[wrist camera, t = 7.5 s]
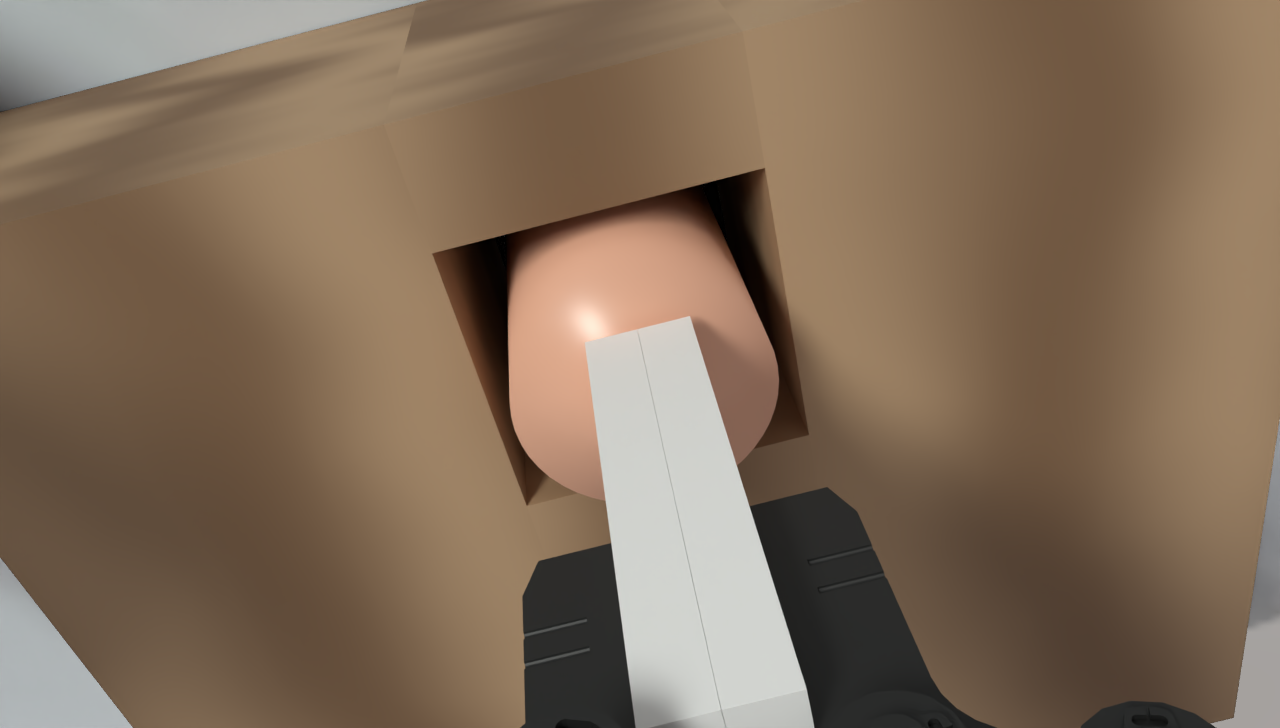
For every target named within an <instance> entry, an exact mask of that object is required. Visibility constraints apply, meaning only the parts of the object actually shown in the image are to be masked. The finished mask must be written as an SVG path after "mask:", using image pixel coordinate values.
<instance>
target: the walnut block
mask: <svg viewBox="0 0 1280 728" xmlns="http://www.w3.org/2000/svg"><path fill="white" fill-rule="evenodd" d="M712 181H716V183H717V188H718V194H719V199H720V204H721V209H722V214H723V219H724V224H725V230H726V235H727V240H728V245H729V250H730V252H731V254H732V256H733V259H734V261H735V263H736V266H737V268H738V270H739V272H740V275H741V277H742V279H743V281H744V284H745V286H746V288H747V291H748V293H749V295H750V297H751V300H752V302H753V304H754V306H755V309H756V311H757V313H758V316H759V318H760V320H761V322H762V325H763V327H764V329H765V332H766V334H767V336H768V338H769V341H770V343H771V345H772V347H773V350H774V353H775V357H776V361H777V364H778V374H779V388H778V397H777V402H776V406H775V410H774V413H773V415H772V418H771V421H770V423H769V425H768V427H767V429H766V431H765V433H764V434H763V436H762V438H761V439H760V440H759V442H758V443H757V445H756V446H755V447H754V449H753V450H752V451H751V452H750V453H749V454H748V455H747V456H746V458H745V459H744V460H743V461H742V462H740V463H739V464H738V465H737V468H738V471H739V475H740V478H741V481H742V484H743V487H744V491H745V494H746V497H747V500H748V503H749V506H752V505H756V504H760V503H764V502H768V501H772V500H776V499H780V498H784V497H788V496H792V495H797V494H801V493H805V492H809V491H813V490H817V489H821V488H825V487H828V488H829V489H830V490H832V491H833V492H834V493H835V494H837V495H838V496H839V497H840V498H841V499H843V500H844V501H845V502H846V503H848V504H849V505H850V506H851V507H853V508H854V509H855V510H856V511H857V512H858V514H859V517H860V519H861V521H862V523H863V526H864V528H865V530H866V532H867V535H868V537H869V539H870V541H871V544H872V548H873V550H875V553H876V555H877V557H878V559H879V562H880V564H881V566H882V568H883V570H884V574H885V577H886V578H887V579H888V582H889V584H890V586H891V588H892V591H893V593H894V595H895V597H896V600H897V602H898V604H899V606H900V609H901V611H902V613H903V615H904V618H905V620H906V622H907V624H908V626H909V629H910V631H911V633H912V635H913V638H914V640H915V642H916V644H917V647H918V649H919V651H920V653H921V656H922V658H923V660H924V662H925V665H926V667H927V669H928V671H929V674H930V676H931V678H932V679H933V681H934V683H935V684H936V686H937V687H938V689H939V691H940V692H941V694H942V695H943V696H944V697H946V698H947V699H948V700H949V701H950V702H951V703H952V704H953V705H954V706H955V707H956V708H957V709H959V710H960V711H962V712H964V713H965V714H967V715H969V716H970V717H972V718H974V719H975V720H977V721H980V722H983V723H986V724H988V725H991V726H994V727H997V728H1081V725H1082V724H1084V723H1085V722H1086V721H1087V720H1089V719H1090V718H1091V717H1092V716H1093V715H1095V714H1096V713H1097V712H1098V711H1100V710H1101V709H1102V708H1106V707H1110V706H1113V705H1117V704H1120V703H1124V702H1127V701H1145V702H1163V703H1166V704H1169V705H1172V706H1175V707H1178V708H1180V709H1183V710H1186V711H1189V712H1192V713H1195V714H1197V715H1198V716H1200V717H1201V718H1202V719H1204V720H1205V721H1207V722H1208V723H1214V722H1218V721H1222V720H1226V719H1230V718H1233V717H1234V712H1235V705H1236V699H1237V692H1238V686H1239V679H1240V672H1241V666H1242V660H1243V653H1244V647H1245V640H1246V634H1247V627H1248V621H1249V614H1250V608H1251V601H1252V595H1253V588H1254V582H1255V575H1256V569H1257V562H1258V556H1259V549H1260V543H1261V536H1262V530H1263V523H1264V517H1265V510H1266V504H1267V497H1268V491H1269V484H1270V478H1271V471H1272V465H1273V458H1274V452H1275V445H1276V438H1277V432H1278V425H1279V419H1280V0H427V1H423V2H419V3H416V4H412V5H408V6H404V7H400V8H397V9H393V10H389V11H385V12H381V13H377V14H374V15H370V16H366V17H362V18H358V19H355V20H351V21H347V22H343V23H339V24H335V25H332V26H328V27H324V28H320V29H316V30H313V31H309V32H305V33H301V34H297V35H293V36H290V37H286V38H282V39H278V40H274V41H270V42H267V43H263V44H259V45H255V46H251V47H248V48H244V49H240V50H236V51H232V52H228V53H225V54H221V55H217V56H213V57H209V58H206V59H202V60H198V61H194V62H190V63H186V64H183V65H179V66H175V67H171V68H167V69H164V70H160V71H156V72H152V73H148V74H144V75H141V76H137V77H133V78H129V79H125V80H122V81H118V82H114V83H110V84H106V85H102V86H99V87H95V88H91V89H87V90H83V91H80V92H76V93H72V94H68V95H64V96H60V97H57V98H53V99H49V100H45V101H41V102H38V103H34V104H30V105H26V106H22V107H18V108H15V109H11V110H7V111H3V112H0V558H1V559H2V560H3V561H4V563H5V564H6V565H7V567H8V568H9V569H10V570H11V572H12V573H13V574H14V576H15V577H16V578H17V579H18V581H19V582H20V583H21V585H22V586H23V587H24V588H25V590H26V591H27V592H28V594H29V595H30V596H31V597H32V599H33V600H34V601H35V603H36V604H37V605H38V606H39V608H40V609H41V610H42V611H43V613H44V614H45V615H46V617H47V618H48V619H49V620H50V622H51V623H52V624H53V626H54V627H55V628H56V629H57V631H58V632H59V633H60V635H61V636H62V637H63V638H64V640H65V641H66V642H67V644H68V645H69V646H70V647H71V649H72V650H73V651H74V653H75V654H76V655H77V656H78V658H79V659H80V660H81V662H82V663H83V664H84V665H85V667H86V668H87V669H88V670H89V672H90V673H91V674H92V676H93V677H94V678H95V679H96V681H97V682H98V683H99V685H100V686H101V687H102V688H103V690H104V691H105V692H106V694H107V695H108V696H109V697H110V699H111V700H112V701H113V703H114V704H115V705H116V706H117V708H118V709H119V710H120V712H121V713H122V714H123V715H124V717H125V718H126V719H127V720H128V722H129V723H130V724H131V726H132V727H133V728H520V727H521V726H523V725H524V724H525V690H524V669H525V664H524V647H523V639H524V633H523V604H522V596H523V594H524V592H525V589H526V587H527V585H528V583H529V581H530V578H531V576H532V574H533V572H534V570H535V567H536V565H537V563H538V561H540V560H544V559H548V558H552V557H557V556H561V555H565V554H569V553H573V552H577V551H581V550H585V549H589V548H593V547H597V546H601V545H605V544H609V543H611V537H610V530H609V522H608V515H607V507H606V501H604V500H599V499H595V498H591V497H588V496H585V495H582V494H579V493H577V492H575V491H573V490H571V489H568V488H566V487H564V486H563V485H561V484H559V483H558V482H556V481H555V480H553V479H552V478H550V477H549V476H548V475H547V474H546V473H544V472H543V471H542V470H541V469H540V468H539V467H538V466H537V465H536V464H535V463H534V462H533V461H532V459H531V458H530V457H529V456H528V454H527V453H526V451H525V450H524V448H523V447H522V445H521V443H520V441H519V439H518V437H517V434H516V432H515V429H514V425H513V422H512V418H511V411H510V398H509V352H508V306H507V272H506V269H505V266H504V263H503V260H502V257H501V254H500V251H499V248H498V245H497V242H496V239H495V237H498V236H502V235H506V234H510V233H514V232H517V231H521V230H525V229H529V228H533V227H537V226H541V225H545V224H549V223H552V222H556V221H560V220H564V219H568V218H572V217H576V216H580V215H584V214H587V213H591V212H595V211H599V210H603V209H607V208H611V207H615V206H619V205H622V204H626V203H630V202H634V201H638V200H642V199H646V198H650V197H654V196H657V195H661V194H665V193H669V192H673V191H677V190H681V189H685V188H689V187H692V186H696V185H700V184H704V183H708V182H712Z"/></svg>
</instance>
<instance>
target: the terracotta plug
mask: <svg viewBox="0 0 1280 728" xmlns="http://www.w3.org/2000/svg"><path fill="white" fill-rule="evenodd" d="M506 260H507V306H508V352H509V398H510V411H511V418H512V422H513V425H514V429H515V432H516V434H517V437H518V439H519V441H520V443H521V445H522V447H523V448H524V450H525V451H526V453H527V454H528V456H529V457H530V458H531V459H532V461H533V462H534V463H535V464H536V465H537V466H538V467H539V468H540V469H541V470H542V471H543V472H544V473H546V474H547V475H548V476H549V477H550V478H552V479H553V480H555V481H556V482H558V483H559V484H561V485H563V486H564V487H566V488H568V489H571V490H573V491H575V492H577V493H579V494H582V495H585V496H588V497H591V498H595V499H599V500H604V501H606V499H605V492H604V484H603V477H602V469H601V462H600V454H599V447H598V439H597V431H596V424H595V416H594V409H593V401H592V394H591V386H590V379H589V371H588V363H587V356H586V348H585V342H588V341H592V340H596V339H600V338H604V337H608V336H612V335H616V334H620V333H624V332H628V331H632V330H636V329H640V328H644V327H648V326H652V325H656V324H660V323H664V322H668V321H672V320H676V319H680V318H684V317H688V316H690V318H691V321H692V324H693V328H694V331H695V334H696V337H697V340H698V344H699V347H700V350H701V353H702V356H703V360H704V363H705V366H706V369H707V372H708V376H709V379H710V382H711V385H712V388H713V392H714V395H715V398H716V401H717V404H718V408H719V411H720V414H721V417H722V420H723V423H724V427H725V430H726V433H727V436H728V439H729V443H730V446H731V449H732V452H733V455H734V459H735V462H736V465H738V464H739V463H740V462H742V461H743V460H744V459H745V458H746V456H747V455H748V454H749V453H750V452H751V451H752V450H753V449H754V447H755V446H756V445H757V443H758V442H759V440H760V439H761V438H762V436H763V434H764V433H765V431H766V429H767V427H768V425H769V423H770V421H771V418H772V415H773V413H774V410H775V406H776V402H777V397H778V388H779V374H778V364H777V361H776V357H775V353H774V350H773V347H772V345H771V343H770V341H769V338H768V336H767V334H766V332H765V329H764V327H763V325H762V322H761V320H760V318H759V316H758V313H757V311H756V309H755V306H754V304H753V302H752V300H751V297H750V295H749V293H748V291H747V288H746V286H745V284H744V281H743V279H742V277H741V275H740V272H739V270H738V268H737V266H736V263H735V261H734V259H733V256H732V254H731V252H730V250H729V247H728V245H727V243H726V241H725V238H724V236H723V234H722V231H721V229H720V227H719V225H718V222H717V220H716V218H715V216H714V213H713V211H712V209H711V206H710V204H709V202H708V200H707V197H706V195H705V193H704V190H703V188H702V186H701V184H700V185H696V186H692V187H689V188H685V189H681V190H677V191H673V192H669V193H665V194H661V195H657V196H654V197H650V198H646V199H642V200H638V201H634V202H630V203H626V204H622V205H619V206H615V207H611V208H607V209H603V210H599V211H595V212H591V213H587V214H584V215H580V216H576V217H572V218H568V219H564V220H560V221H556V222H552V223H549V224H545V225H541V226H537V227H533V228H529V229H525V230H521V231H517V232H514V233H510V234H506ZM637 331H638V330H637ZM638 335H639V334H638Z"/></svg>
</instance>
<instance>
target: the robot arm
mask: <svg viewBox="0 0 1280 728" xmlns="http://www.w3.org/2000/svg"><path fill="white" fill-rule="evenodd" d="M637 330H638V331H637ZM638 334H639V335H638ZM585 348H586V356H587V363H588V371H589V379H590V386H591V394H592V401H593V409H594V416H595V424H596V431H597V439H598V447H599V454H600V462H601V469H602V477H603V484H604V492H605V499H606V507H607V515H608V522H609V530H610V537H611V543H609V544H605V545H601V546H597V547H593V548H589V549H585V550H581V551H577V552H573V553H569V554H565V555H561V556H557V557H552V558H548V559H544V560H540V561H538V563H537V565H536V567H535V570H534V572H533V574H532V576H531V578H530V581H529V583H528V585H527V587H526V589H525V592H524V594H523V596H522V604H523V633H524V639H523V647H524V664H525V669H524V690H525V724H524V725H523V726H521V727H520V728H997V727H994V726H991V725H988V724H986V723H983V722H980V721H977V720H975V719H974V718H972V717H970V716H969V715H967V714H965V713H964V712H962V711H960V710H959V709H957V708H956V707H955V706H954V705H953V704H952V703H951V702H950V701H949V700H948V699H947V698H946V697H944V696H943V695H942V694H941V692H940V691H939V689H938V687H937V686H936V684H935V683H934V681H933V679H932V678H931V676H930V674H929V671H928V669H927V667H926V665H925V662H924V660H923V658H922V656H921V653H920V651H919V649H918V647H917V644H916V642H915V640H914V638H913V635H912V633H911V631H910V629H909V626H908V624H907V622H906V620H905V618H904V615H903V613H902V611H901V609H900V606H899V604H898V602H897V600H896V597H895V595H894V593H893V591H892V588H891V586H890V584H889V582H888V579H887V578H886V577H885V574H884V570H883V568H882V566H881V564H880V562H879V559H878V557H877V555H876V553H875V550H873V548H872V544H871V541H870V539H869V537H868V535H867V532H866V530H865V528H864V526H863V523H862V521H861V519H860V517H859V514H858V512H857V511H856V510H855V509H854V508H853V507H851V506H850V505H849V504H848V503H846V502H845V501H844V500H843V499H841V498H840V497H839V496H838V495H837V494H835V493H834V492H833V491H832V490H830V489H829V488H828V487H825V488H821V489H817V490H813V491H809V492H805V493H801V494H797V495H792V496H788V497H784V498H780V499H776V500H772V501H768V502H764V503H760V504H756V505H752V506H749V503H748V500H747V497H746V494H745V491H744V487H743V484H742V481H741V478H740V475H739V471H738V468H737V465H736V462H735V459H734V455H733V452H732V449H731V446H730V443H729V439H728V436H727V433H726V430H725V427H724V423H723V420H722V417H721V414H720V411H719V408H718V404H717V401H716V398H715V395H714V392H713V388H712V385H711V382H710V379H709V376H708V372H707V369H706V366H705V363H704V360H703V356H702V353H701V350H700V347H699V344H698V340H697V337H696V334H695V331H694V328H693V324H692V321H691V318H690V316H688V317H684V318H680V319H676V320H672V321H668V322H664V323H660V324H656V325H652V326H648V327H644V328H640V329H636V330H632V331H628V332H624V333H620V334H616V335H612V336H608V337H604V338H600V339H596V340H592V341H588V342H585ZM1081 728H1215V727H1214V726H1213V725H1211V724H1210V723H1208V722H1207V721H1205V720H1204V719H1202V718H1201V717H1200V716H1198V715H1197V714H1195V713H1192V712H1189V711H1186V710H1183V709H1180V708H1178V707H1175V706H1172V705H1169V704H1166V703H1163V702H1145V701H1127V702H1124V703H1120V704H1117V705H1113V706H1110V707H1106V708H1102V709H1101V710H1100V711H1098V712H1097V713H1096V714H1095V715H1093V716H1092V717H1091V718H1090V719H1089V720H1087V721H1086V722H1085V723H1084V724H1082V725H1081Z"/></svg>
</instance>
